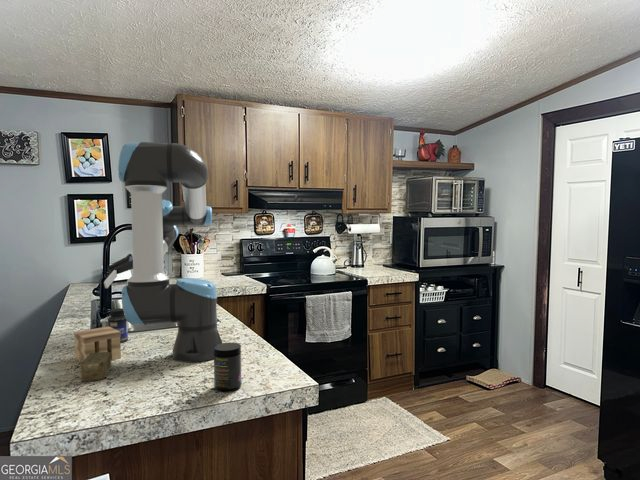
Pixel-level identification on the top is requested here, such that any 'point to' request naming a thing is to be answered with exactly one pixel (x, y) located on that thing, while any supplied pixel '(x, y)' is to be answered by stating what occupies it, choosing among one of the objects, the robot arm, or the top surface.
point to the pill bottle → (119, 323)
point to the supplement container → (227, 366)
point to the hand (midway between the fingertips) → (124, 289)
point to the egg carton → (104, 321)
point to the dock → (97, 342)
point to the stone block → (96, 366)
